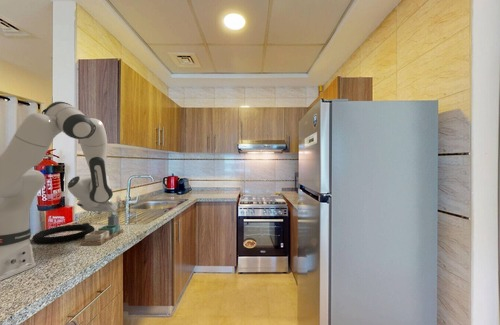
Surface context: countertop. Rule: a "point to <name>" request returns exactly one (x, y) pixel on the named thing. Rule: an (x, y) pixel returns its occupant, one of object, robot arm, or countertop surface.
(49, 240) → the cable lock
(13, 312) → the countertop surface
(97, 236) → the brown divided tray
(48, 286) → the countertop surface
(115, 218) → the knob
